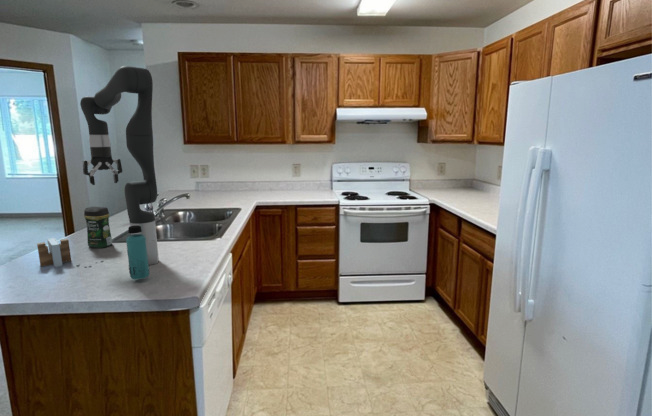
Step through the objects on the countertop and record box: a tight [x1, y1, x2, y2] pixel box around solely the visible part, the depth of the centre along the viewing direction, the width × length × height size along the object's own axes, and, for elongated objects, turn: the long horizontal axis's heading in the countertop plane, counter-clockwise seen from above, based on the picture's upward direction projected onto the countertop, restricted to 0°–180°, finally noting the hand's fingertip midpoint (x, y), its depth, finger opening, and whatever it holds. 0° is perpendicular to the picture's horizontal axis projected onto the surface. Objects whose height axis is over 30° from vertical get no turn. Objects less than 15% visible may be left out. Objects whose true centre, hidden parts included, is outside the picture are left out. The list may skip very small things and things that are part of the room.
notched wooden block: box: [36, 238, 72, 267], centre depth 150 cm, size 2×10×9 cm, turn 133°
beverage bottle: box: [125, 225, 150, 280], centre depth 132 cm, size 6×7×20 cm
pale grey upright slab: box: [47, 237, 63, 268], centre depth 150 cm, size 2×12×9 cm, turn 43°
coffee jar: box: [83, 206, 113, 249], centre depth 172 cm, size 10×8×19 cm
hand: (104, 183), depth 161 cm, fingers open, 8 cm apart
